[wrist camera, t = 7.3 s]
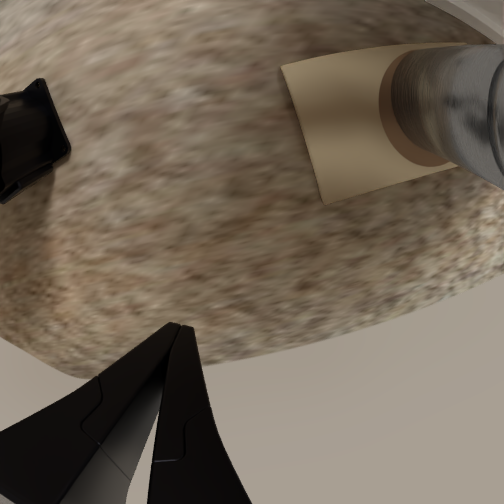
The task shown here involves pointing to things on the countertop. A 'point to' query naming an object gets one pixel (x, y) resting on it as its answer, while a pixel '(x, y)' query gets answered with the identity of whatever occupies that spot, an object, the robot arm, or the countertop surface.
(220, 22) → the countertop surface
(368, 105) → the tan rectangular board
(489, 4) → the dollhouse
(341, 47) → the countertop surface
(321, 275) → the countertop surface
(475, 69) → the grey lidded jar
